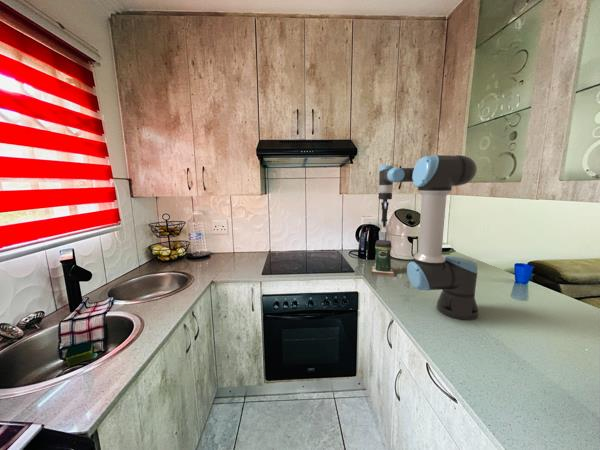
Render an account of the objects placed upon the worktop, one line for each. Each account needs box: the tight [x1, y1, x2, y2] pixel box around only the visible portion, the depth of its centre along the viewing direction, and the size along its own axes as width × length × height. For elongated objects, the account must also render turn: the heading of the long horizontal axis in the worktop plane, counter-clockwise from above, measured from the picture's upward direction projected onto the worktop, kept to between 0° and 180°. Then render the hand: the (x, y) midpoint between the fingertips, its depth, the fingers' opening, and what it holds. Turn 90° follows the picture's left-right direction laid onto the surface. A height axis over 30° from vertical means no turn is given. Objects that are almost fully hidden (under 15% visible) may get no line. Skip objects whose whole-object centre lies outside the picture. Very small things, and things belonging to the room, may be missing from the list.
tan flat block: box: [370, 265, 395, 278], centre depth 155 cm, size 11×13×2 cm
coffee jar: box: [374, 239, 392, 271], centre depth 153 cm, size 10×8×19 cm
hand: (383, 231), depth 151 cm, fingers closed
